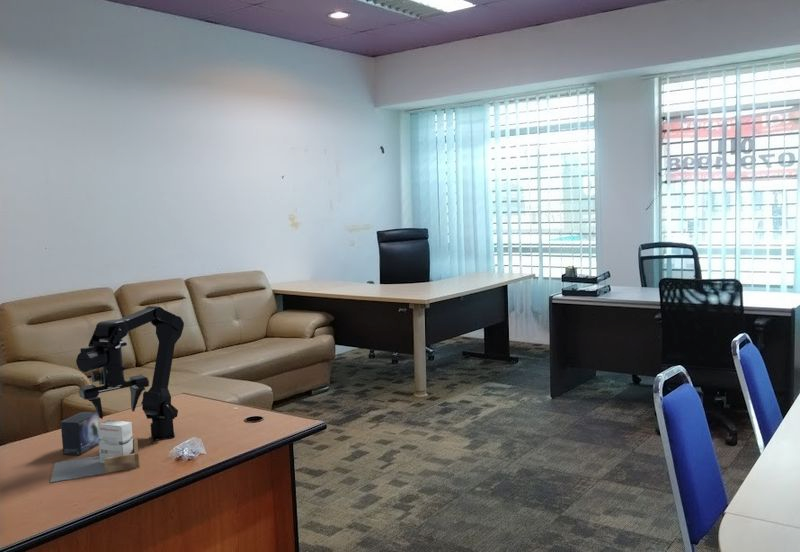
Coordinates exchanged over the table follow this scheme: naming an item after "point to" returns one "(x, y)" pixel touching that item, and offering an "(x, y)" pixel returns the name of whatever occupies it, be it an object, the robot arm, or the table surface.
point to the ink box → (115, 439)
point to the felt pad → (77, 469)
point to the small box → (80, 433)
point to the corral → (123, 460)
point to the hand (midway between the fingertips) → (117, 414)
